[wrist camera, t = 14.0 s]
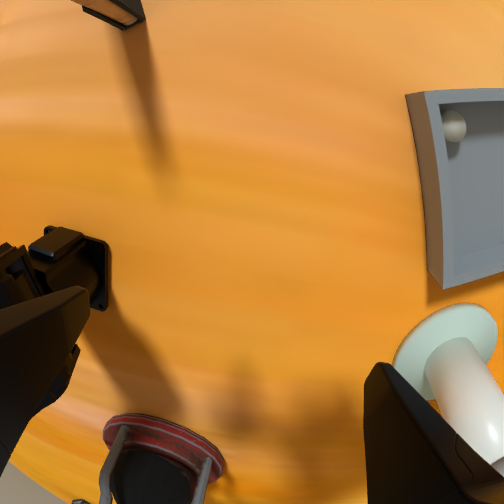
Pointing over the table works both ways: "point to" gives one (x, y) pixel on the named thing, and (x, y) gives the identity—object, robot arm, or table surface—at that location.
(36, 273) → the robot arm
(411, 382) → the pad
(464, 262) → the parts tub
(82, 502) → the small box
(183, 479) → the hourglass
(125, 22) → the ammunition clip
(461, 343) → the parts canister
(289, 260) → the table surface
